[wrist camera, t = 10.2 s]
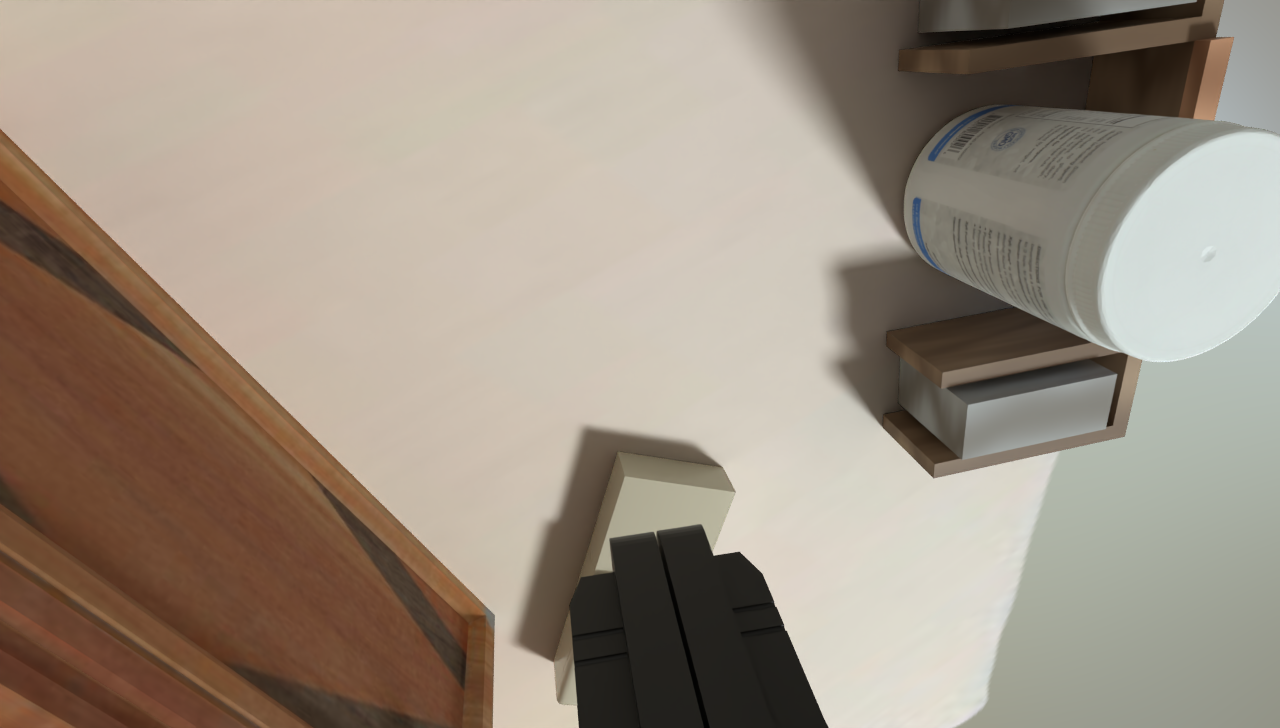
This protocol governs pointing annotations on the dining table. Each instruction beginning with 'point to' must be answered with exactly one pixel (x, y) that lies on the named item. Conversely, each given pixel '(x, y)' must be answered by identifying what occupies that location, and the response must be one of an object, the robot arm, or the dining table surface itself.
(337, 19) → the dining table surface
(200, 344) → the wooden box
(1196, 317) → the supplement tub
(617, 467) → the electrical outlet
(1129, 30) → the rack
